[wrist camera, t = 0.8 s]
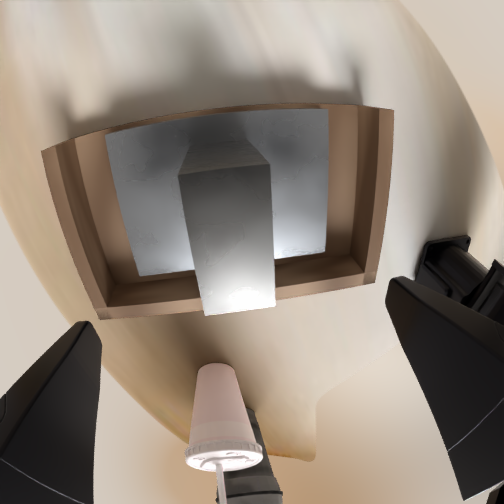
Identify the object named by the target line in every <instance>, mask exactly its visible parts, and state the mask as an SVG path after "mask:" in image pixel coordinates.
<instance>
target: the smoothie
mask: <svg viewBox="0 0 504 504" xmlns="http://www.w3.org/2000/svg"><path fill="white" fill-rule="evenodd" d="M185 455H186V463H187V464H188V465H189V466H191V467H193V468H197V469H200V470H205V471H216V475H217V484H218V493H219V501H220V504H227V500H226V492H225V484H224V475H223V471H234V470H240V469H244V468H248V467H251V466H254V465H256V464H258V463H259V462H260V461H261V460H262V459H263V455H262V446H260V445H259V444H258V443H256V440H255V437H254V433H253V430H252V427H251V424H250V421H249V418H248V415H247V411H246V408H245V405H244V402H243V398H242V395H241V392H240V388H239V385H238V381H237V378H236V375H235V371H234V369H233V368H232V367H231V366H229V365H227V364H223V363H211V364H207V365H204V366H203V367H201V368H200V369H199V371H198V375H197V383H196V390H195V398H194V406H193V415H192V423H191V431H190V441H189V447H188V448H187V449H186V450H185Z"/></svg>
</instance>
